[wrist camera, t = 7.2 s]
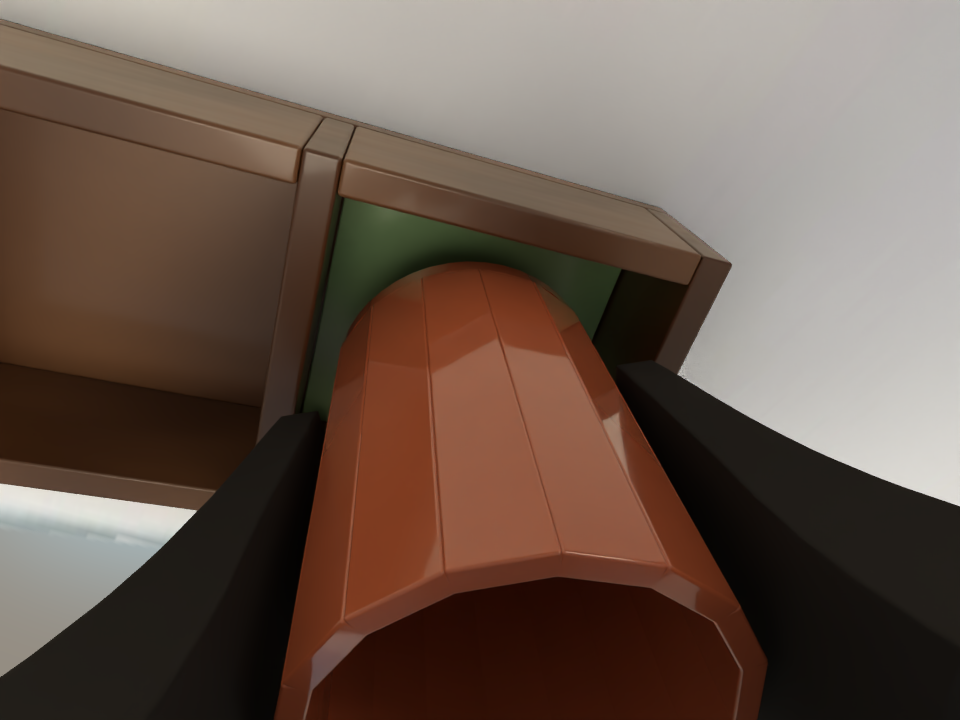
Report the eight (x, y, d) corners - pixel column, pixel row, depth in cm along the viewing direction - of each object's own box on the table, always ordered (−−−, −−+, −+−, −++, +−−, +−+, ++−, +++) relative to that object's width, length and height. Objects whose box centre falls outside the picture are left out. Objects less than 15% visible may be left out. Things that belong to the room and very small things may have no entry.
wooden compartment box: (662, 207, 14) (734, 264, 11) (551, 466, 17) (582, 564, 14) (-75, -3, 11) (-261, -7, 8) (-39, 364, 14) (-162, 462, 11)
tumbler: (586, 241, 11) (799, 514, 5) (592, 459, 14) (741, 814, 8) (308, 281, 11) (197, 612, 5) (365, 495, 14) (336, 888, 8)
